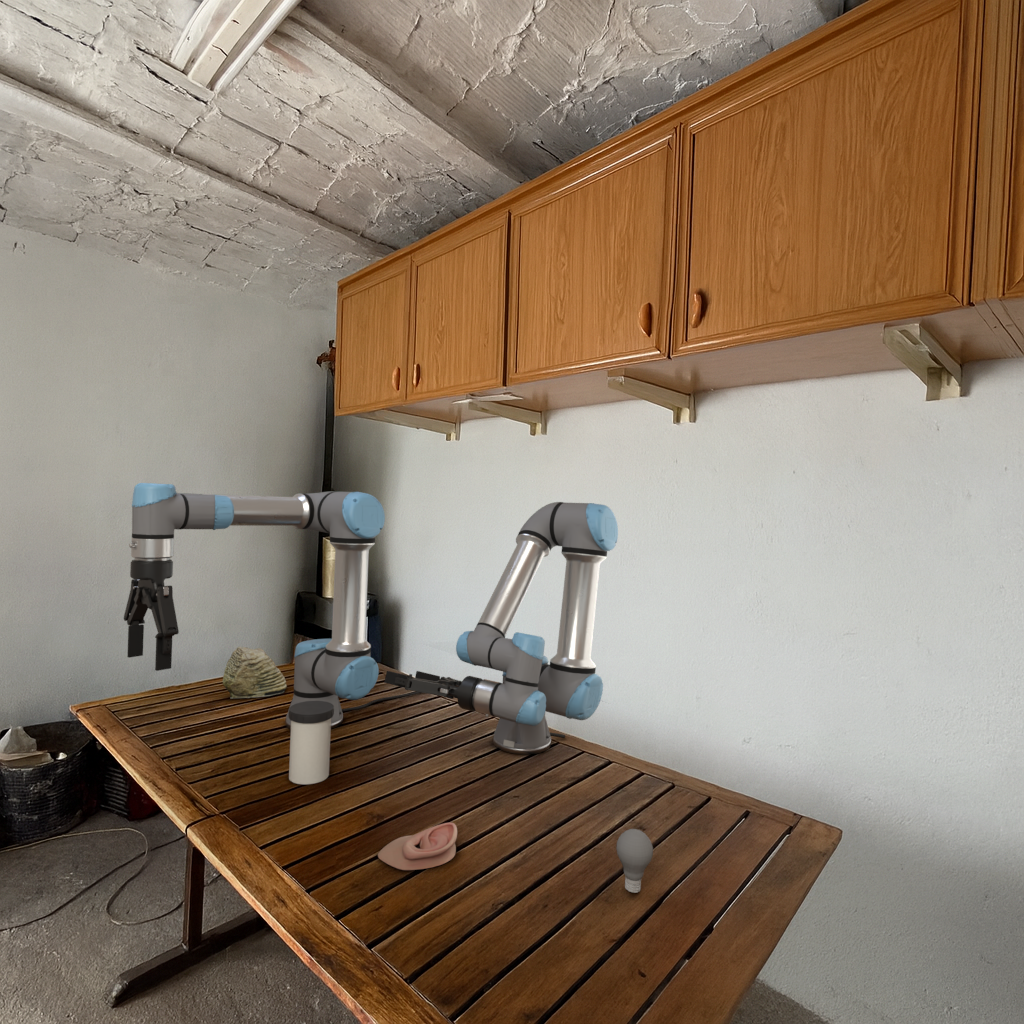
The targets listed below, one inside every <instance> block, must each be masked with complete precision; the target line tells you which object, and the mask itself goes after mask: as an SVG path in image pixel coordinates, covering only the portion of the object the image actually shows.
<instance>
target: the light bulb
mask: <svg viewBox="0 0 1024 1024" xmlns="http://www.w3.org/2000/svg"><path fill="white" fill-rule="evenodd" d="M615 849H616V854H617V857H618V859H619V861H620V863H621V865H622V867H623V873H624V874H623V875H624V876H625V878H624V888H625V890H627V891H628V892H630V893H634V894H635V893H639V892H640V891H641V889H642V887H641V886H642V879H643V877H644V875H645V871H646V868H647V867H648V866H649V864H650V863H651V861H652V859H653V855H654V847H653V843H652V841H651V838H649V836H648V835H647V834H646V833H645V832H643V831H642V830H641V829H636V828H629V829H627V830H625V831H623V832H622V833H621V834H620V835H619V837H618V839H617V841H616V847H615Z"/></svg>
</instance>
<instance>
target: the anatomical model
mask: <svg viewBox="0 0 1024 1024" xmlns="http://www.w3.org/2000/svg"><path fill="white" fill-rule="evenodd" d="M457 840H458V827H457V825H456V823H454V822H444V823H439V824H437V825H434V826H431V827H428V828H426V829H424V830H422V831H420V832H418V833H415V834H412V835H404V836H401V837H398V838H396V839H393V840H392V841H391V842H389V843H387V844H386V845H385V846H383V848H382V849H380V851H379V852H378V853H377V858H378V859H379V860H380V861H382V862H383V863H384V864H386V865H389V866H390V867H393V868H395V869H397V870H399V871H415V870H416V871H417V870H424V869H430V868H435V867H439V866H441V865H444V864H447V863H448V862H449V861H452V859H454V857H455V856H456V852H457V847H456V846H457V845H456V841H457Z"/></svg>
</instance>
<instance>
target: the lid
mask: <svg viewBox="0 0 1024 1024" xmlns="http://www.w3.org/2000/svg"><path fill="white" fill-rule="evenodd" d="M289 707H290V706H289ZM288 710H289V719H290V720H291V721H294V722H297V723H318V722H323V721H326V720H329V719H330V718H332V717H333V715H334V706H333V704H331V703H329V702H325V701H305V702H300V703H297V704H294V705H292V706H291V707H290V708H288Z"/></svg>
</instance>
